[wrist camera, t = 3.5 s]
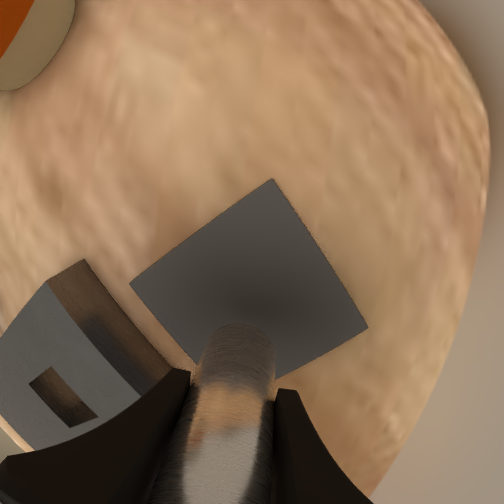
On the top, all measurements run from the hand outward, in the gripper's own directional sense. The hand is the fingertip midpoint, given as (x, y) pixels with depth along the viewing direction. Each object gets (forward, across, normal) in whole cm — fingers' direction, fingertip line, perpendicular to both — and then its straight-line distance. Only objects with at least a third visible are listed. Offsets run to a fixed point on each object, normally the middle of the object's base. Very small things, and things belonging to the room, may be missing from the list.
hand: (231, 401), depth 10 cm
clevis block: (+8, +14, +10) cm, 19 cm away
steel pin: (+3, 0, 0) cm, 3 cm away
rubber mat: (+8, 0, 0) cm, 8 cm away
